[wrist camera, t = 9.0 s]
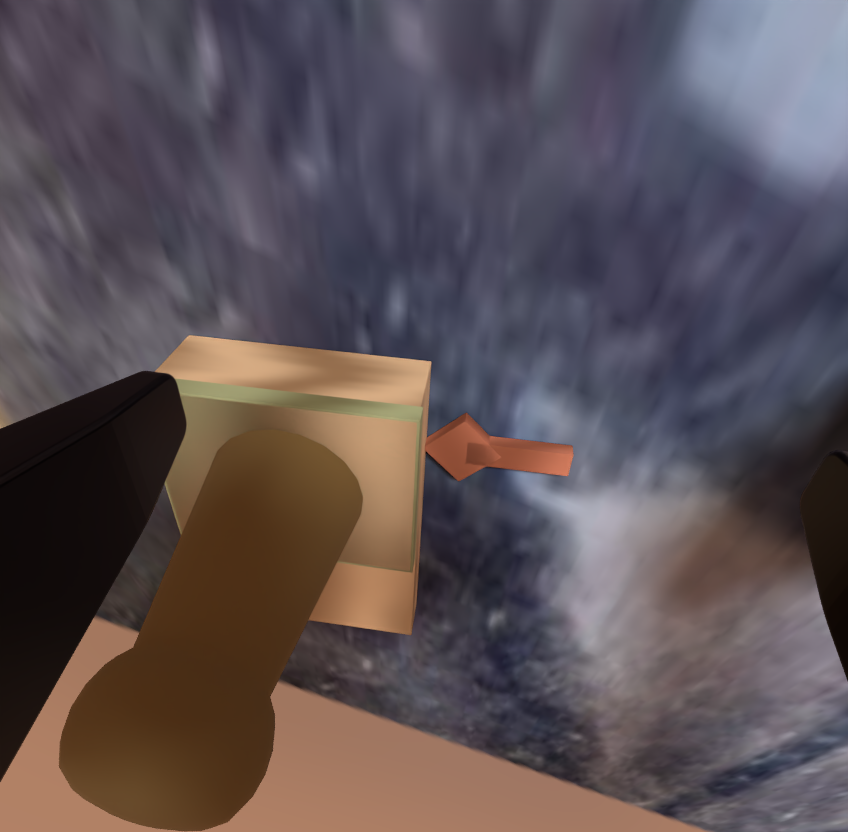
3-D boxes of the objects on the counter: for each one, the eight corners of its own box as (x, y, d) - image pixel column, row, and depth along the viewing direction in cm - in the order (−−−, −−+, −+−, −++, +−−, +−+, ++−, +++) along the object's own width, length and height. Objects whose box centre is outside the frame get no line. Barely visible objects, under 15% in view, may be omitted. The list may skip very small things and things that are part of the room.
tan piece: (590, 376, 22) (602, 441, 19) (526, 618, 32) (527, 688, 29) (186, 332, 23) (134, 387, 20) (243, 578, 33) (214, 641, 30)
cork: (316, 561, 25) (205, 873, 16) (189, 492, 23) (-11, 797, 15) (393, 487, 22) (305, 831, 13) (250, 400, 20) (39, 725, 11)
